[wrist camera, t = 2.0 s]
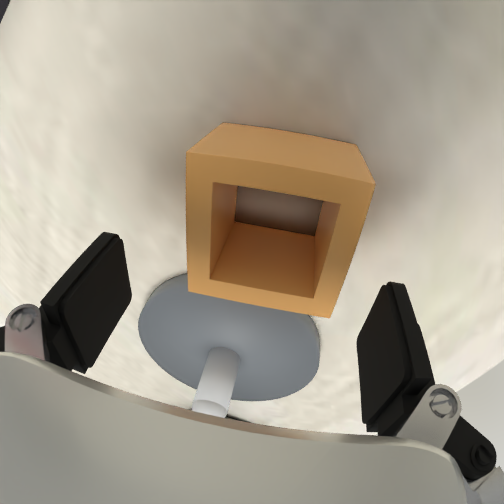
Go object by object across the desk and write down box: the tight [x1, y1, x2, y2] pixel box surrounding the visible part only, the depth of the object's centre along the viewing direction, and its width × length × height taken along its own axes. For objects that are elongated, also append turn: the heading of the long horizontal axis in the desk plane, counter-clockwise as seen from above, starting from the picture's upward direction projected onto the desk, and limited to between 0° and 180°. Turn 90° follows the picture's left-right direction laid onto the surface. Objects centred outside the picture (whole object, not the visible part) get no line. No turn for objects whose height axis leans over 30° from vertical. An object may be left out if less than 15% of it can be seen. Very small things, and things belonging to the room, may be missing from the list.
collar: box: [186, 123, 376, 318], centre depth 14 cm, size 6×6×5 cm
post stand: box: [138, 274, 320, 418], centre depth 21 cm, size 14×14×7 cm
